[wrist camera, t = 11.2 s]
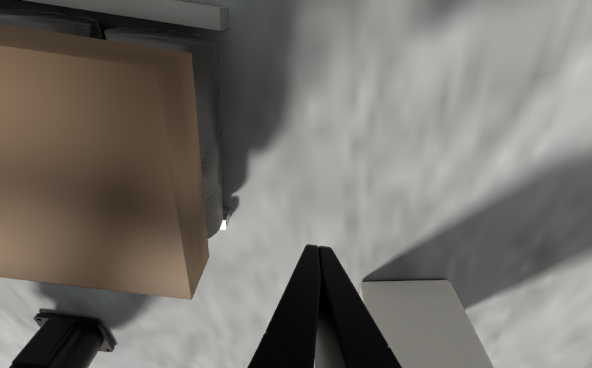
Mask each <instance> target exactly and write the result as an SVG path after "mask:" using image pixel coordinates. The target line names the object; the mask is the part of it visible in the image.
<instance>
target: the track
mask: <svg viewBox="0 0 592 368" xmlns="http://www.w3.org/2000/svg"><path fill="white" fill-rule="evenodd" d="M24 1H31V2H37V3H44V4H50V5H57V6H63V7H70V8H76V9H83V10H89V11H96V12H102V13H108V14H115V15H121V16H128V17H134V18H141V19H147V20H154V21H160V22H167V23H173V24H180V25H186V26H192V27H199V28H205V29H212V30H218V31H221V30H225V29H228V15H227V8H225V7H219V6H213V5H207V4H200V3H194V2H188V1H181V0H24ZM0 24H3V25H10V26H16V27H23V28H29V29H36V30H43V31H49V32H56V33H63V34H69V35H76V36H82V37H89V38H96V39H102V40H103V38H102V34H101V30H100V26H99V22H98V21H97V20H95V19H92V18H88V17H83V16H77V15H71V14H63V13H55V12H45V11H34V10H19V9H0ZM104 32H105V36H106V40H109V41H115V42H122V43H129V44H135V45H142V46H149V47H155V48H162V49H168V50H175V51H182V52H188V53H191V54H192V66H193V77H194V89H195V100H196V112H197V123H198V135H199V147H200V158H201V170H202V181H203V193H204V204H205V216H206V227H207V239H209V238H210V237H212V236H213V235H214V234H216V233H217V231H218V230H219V229H226V228H227V225H228V223H229V220H230V209H228V208H223V198H222V170H221V142H220V114H219V86H218V58H217V41H216V40H215V39H213V38H210V37H207V36H203V35H199V34H194V33H188V32H181V31H174V30H165V29H153V28H113V29H108V30H105V31H104Z"/></svg>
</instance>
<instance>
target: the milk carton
mask: <svg viewBox="0 0 592 368" xmlns="http://www.w3.org/2000/svg"><path fill="white" fill-rule="evenodd" d="M360 297H361V299H362V301H363V302H364V304H365V306H366V307H367V309H368V311H369V313H370V314H371V316H372V318H373V319H374V321H375V323H376V324H377V326H378V328H379V329H380V331H381V333H382V335H383V336H384V338H385V340H386V341H387V343H388V347H390V348H391V350H392V351H393V353H394V355H395V356H396V358H397V360H398V361H399V363H400V365H401V366H402V368H494V367H493V365H492V363H491V361H490V359H489V357H488V355H487V353H486V351H485V349H484V347H483V345H482V343H481V341H480V339H479V338H478V336H477V334H476V332H475V330H474V328H473V326H472V324H471V322H470V320H469V318H468V316H467V314H466V312H465V310H464V308H463V306H462V304H461V302H460V300H459V298H458V296H457V294H456V292H455V290H454V288H453V286H452V284H451V283H450V281H448V280H425V281H378V282H361V284H360Z"/></svg>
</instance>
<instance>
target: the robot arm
mask: <svg viewBox="0 0 592 368" xmlns="http://www.w3.org/2000/svg"><path fill="white" fill-rule="evenodd" d="M34 320H35V321H36V322H37V323H38V325H39V326H40V327H41V328H40V329H39V330H38V331H37V333H36V334H35V335H34V336H33V337H32V339H31V340H30V341H29V342H28V343H27V345H26V346H25V347H24V348H23V349H22V351H21V352H20V353H19V354H18V355H17V356H16V358H15V359H14V360H13V362H12V365H11V366H10V367H9V368H88V367H89V365H90V364H91V362H92V360H93V359H94V357H95V356H96V354H97V352H98V351H104V352H112V351H113V350H114V348H115V347H114V345H113V343H112V341H111V340H110V338H109V336H108V334H107V333H106V331H105V329H104V327H103V325H102V324H101V322H100V321H98V320H95V319H86V318H77V317H68V316H60V315H51V314H42V313H38V314H37V315H36V316H35V317H34ZM314 359H315V368H402V366H401V365H400V363H399V361H398V360H397V358H396V356H395V355H394V353H393V351H392V350H391V348H390V347H388V343H387V341H386V340H385V338H384V336H383V335H382V333H381V331H380V329H379V328H378V326H377V324H376V323H375V321H374V319H373V318H372V316H371V314H370V313H369V311H368V309H367V307H366V306H365V304H364V302H363V301H362V299H361V297H360V296H359V294H358V292H357V291H356V289H355V287H354V286H353V284H352V282H351V280H350V279H349V277H348V275H347V274H346V272H345V270H344V269H343V267H342V265H341V264H340V262H339V260H338V258H337V257H336V255H335V253H334V252H333V250H332V249H331V248H330V247H325V246H319V247H318V246H317V245H309V244H307V245H306V246H305V248H304V250H303V253H302V255H301V257H300V259H299V261H298V263H297V265H296V268H295V270H294V272H293V274H292V276H291V278H290V280H289V282H288V285H287V287H286V289H285V291H284V293H283V295H282V297H281V300H280V302H279V304H278V306H277V308H276V310H275V312H274V314H273V317H272V319H271V321H270V323H269V325H268V327H267V329H266V333H265V334H264V335H263V338H262V340H261V342H260V344H259V346H258V348H257V350H256V352H255V354H254V356H253V358H252V360H251V362H250V364H249V366H248V367H247V368H314Z"/></svg>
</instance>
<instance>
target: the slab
mask: <svg viewBox="0 0 592 368" xmlns="http://www.w3.org/2000/svg"><path fill="white" fill-rule="evenodd" d="M208 258H209V251H208V239H207V227H206V216H205V204H204V193H203V181H202V170H201V158H200V147H199V135H198V123H197V112H196V100H195V89H194V77H193V66H192V54H191V53H188V52H182V51H175V50H168V49H162V48H155V47H149V46H142V45H135V44H129V43H122V42H115V41H109V40H102V39H96V38H89V37H82V36H76V35H69V34H63V33H56V32H49V31H43V30H36V29H29V28H23V27H16V26H10V25H3V24H0V277H2V278H11V279H19V280H28V281H36V282H45V283H53V284H62V285H70V286H79V287H87V288H96V289H104V290H113V291H121V292H130V293H138V294H147V295H155V296H164V297H172V298H181V299H189V300H192V297H193V295H194V293H195V290H196V288H197V285H198V283H199V280H200V278H201V275H202V273H203V270H204V268H205V265H206V263H207V260H208Z"/></svg>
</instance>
